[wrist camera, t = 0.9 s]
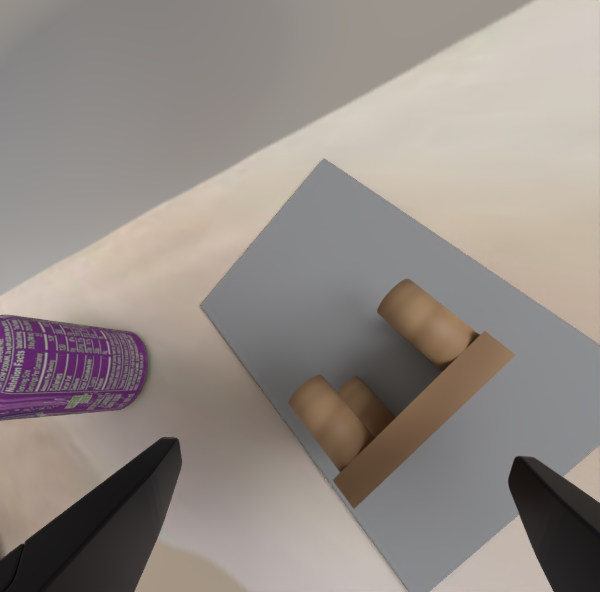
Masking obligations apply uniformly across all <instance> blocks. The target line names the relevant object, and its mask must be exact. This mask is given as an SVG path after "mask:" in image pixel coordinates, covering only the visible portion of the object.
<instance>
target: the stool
mask: <svg viewBox="0 0 600 592" xmlns="http://www.w3.org/2000/svg"><path fill="white" fill-rule="evenodd" d="M377 313H378V314H379V315H380V316H381V317H382V318H383V319H385V320H386V321H387V322H388V323H389V324H390V325H391V326H392V327H393V328H394V329H396V330H397V331H398V332H399V333H400V334H401V335H402V336H403V337H404V338H405V339H407V340H408V341H409V342H410V343H411V344H412V345H413V346H414V347H415V348H416V349H418V350H419V351H420V352H421V353H422V354H423V355H424V356H425V357H426V358H427V359H429V360H430V361H431V362H432V363H433V364H434V365H435V366H436V367H437V368H438V369H440V370H441V371H442V373H441V374H440V375H439V376H438V377H437V378H436V379H435V380H434V381H433V382H432V383H431V384H430V385H429V386H428V387H427V388H426V389H425V390H424V391H423V392H422V393H421V394H420V395H419V396H418V397H417V398H416V399H415V400H413V401H412V402H411V403H410V404H409V405H408V406H407V407H406V408H405V409H404V410H403V411H402V412H401V413H400V414H399V415H398V416H397V417H395V416H394V415H393V414H392V413H391V411H390V410H389V409H388V408H387V407H386V406H385V405H384V404H383V403H382V402H381V401H380V400H379V399H378V398H377V396H376V395H375V394H374V393H373V392H372V391H371V390H370V389H369V388H368V387H367V386H366V385H365V384H364V382H363V381H362V380H361V379H360V378H359V377H358V376H354V377H353V378H351V379H350V380H348V381H347V382H346V383H345V384H344V385H343V386H342V387H341V388H340V389H339V390H338V391H337V392H336V391H335V390H334V389H333V388H332V386H331V385H330V384H329V383H328V382H327V381H326V379H325V378H324V377H323V376H322V375H316V376H314V377H312V378H311V379H309V380H308V381H306V382H305V383H304V384H303V385H301V386H300V387H299V388H298V389H297V390H296V391H295V392H294V394H293V395H292V396H291V398H290V399H289V401H288V404H289V406H290V407H291V408H292V410H293V411H294V412H295V414H296V415H297V416H298V417H299V419H300V420H301V421H302V423H303V424H304V425H305V427H306V428H307V429H308V431H309V432H310V433H311V435H312V436H313V437H314V439H315V440H316V441H317V443H318V444H319V445H320V446H321V448H322V449H323V450H324V452H325V453H326V454H327V456H328V457H329V458H330V460H331V461H332V462H333V464H334V465H335V466H336V468H337V469H338V470H339V472H340V473H339V474H338V475H337V476H336V477H335V478H334V479H333V482H334V483H335V484H336V486H337V487H338V488H339V490H340V491H341V492H342V494H343V495H344V496H345V498H346V499H347V501H348V502H349V503H350V505H351V506H352V507H353V509H355V508H356V507H357V506H358V505H359V504H360V503H361V502H362V501H363V500H364V499H365V498H366V497H367V496H368V495H369V494H370V493H372V492H373V491H374V490H375V489H376V488H377V487H378V486H379V485H380V484H381V483H382V482H383V481H384V480H385V479H386V478H387V477H388V476H389V475H390V474H391V473H393V472H394V471H395V470H396V469H397V468H398V467H399V466H400V465H401V464H402V463H403V462H404V461H405V460H406V459H407V458H408V457H409V456H410V455H411V454H412V453H414V452H415V451H416V450H417V449H418V448H419V447H420V446H421V445H422V444H423V443H424V442H425V441H426V440H427V439H428V438H429V437H430V436H431V435H432V434H433V433H435V432H436V431H437V430H438V429H439V428H440V427H441V426H442V425H443V424H444V423H445V422H446V421H447V420H448V419H449V418H450V417H451V416H452V415H453V414H455V413H456V412H457V411H458V410H459V409H460V408H461V407H462V406H463V405H464V404H465V403H466V402H467V401H468V400H469V399H470V398H471V397H472V396H473V395H474V394H476V393H477V392H478V391H479V390H480V389H481V388H482V387H483V386H484V385H485V384H486V383H487V382H488V381H489V380H490V379H491V378H492V377H493V376H494V375H495V374H497V373H498V372H499V371H500V370H501V369H502V368H503V367H504V366H505V365H506V364H507V363H508V362H509V361H510V360H511V359H512V358H513V357H514V356H515V354H514V353H513V352H512V351H510V350H509V349H508V348H507V347H505V346H504V345H503V344H501V343H500V342H499V341H498V340H496V339H495V338H494V337H492V336H491V335H490V334H489V333H487V332H486V331H484V332H483V333H482V334H481V335H480V334H478V333H477V332H476V331H475V330H473V329H472V328H471V327H470V326H468V325H467V324H466V323H465V322H463V321H462V320H461V319H460V318H458V317H457V316H456V315H454V314H453V313H452V312H451V311H449V310H448V309H447V308H446V307H444V306H443V305H442V304H441V303H439V302H438V301H437V300H436V299H434V298H433V297H432V296H431V295H429V294H428V293H427V292H425V291H424V290H423V289H422V288H420V287H419V286H418V285H417V284H415V283H414V282H413V281H412V280H410V279H404V280H402V281H401V282H399V283H398V284H397V285H396V286H394V287H393V288H392V289H391V290H390V291H389V292H388V294H387V295H386V296H385V297H384V298H383V300H382V301H381V303H380V305H379V307H378V309H377Z"/></svg>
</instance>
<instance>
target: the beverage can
mask: <svg viewBox="0 0 600 592" xmlns="http://www.w3.org/2000/svg"><path fill="white" fill-rule="evenodd" d="M146 372H147V354H146V350H145V347H144V344H143V342H142V341H141V339H140V338H139V337H138V336H137V335H136V334H134V333H132V332H127V331H120V330H113V329H106V328H99V327H92V326H85V325H78V324H71V323H63V322H56V321H49V320H42V319H35V318H28V317H21V316H14V315H0V421H1V420H12V419H24V418H35V417H46V416H57V415H69V414H80V413H91V412H102V411H113V410H120V409H123V408H125V407H127V406H128V405H129V404H131V403H132V402H133V401H134V400H135V398H136V397H137V395H138V394H139V392H140V390H141V388H142V386H143V384H144V381H145V377H146Z"/></svg>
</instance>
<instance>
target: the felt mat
mask: <svg viewBox="0 0 600 592" xmlns="http://www.w3.org/2000/svg"><path fill="white" fill-rule="evenodd" d="M404 279H410V280H412V281H413V282H414V283H415V284H417V285H418V286H419V287H420V288H422V289H423V290H424V291H425V292H427V293H428V294H429V295H431V296H432V297H433V298H434V299H436V300H437V301H438V302H439V303H441V304H442V305H443V306H444V307H446V308H447V309H448V310H449V311H451V312H452V313H453V314H454V315H456V316H457V317H458V318H460V319H461V320H462V321H463V322H465V323H466V324H467V325H468V326H470V327H471V328H472V329H473V330H475V331H476V332H477V333H478V334H480V335H481V334H482V333H483V332H484V331H486V332H487V333H489V334H490V335H491V336H492V337H494V338H495V339H496V340H498V341H499V342H500V343H501V344H503V345H504V346H505V347H507V348H508V349H509V350H510V351H512V352H513V353H514V354H515V356H514V357H513V358H512V359H511V360H510V361H509V362H508V363H507V364H506V365H505V366H504V367H503V368H502V369H501V370H500V371H499V372H498V373H497V374H495V375H494V376H493V377H492V378H491V379H490V380H489V381H488V382H487V383H486V384H485V385H484V386H483V387H482V388H481V389H480V390H479V391H478V392H477V393H476V394H474V395H473V396H472V397H471V398H470V399H469V400H468V401H467V402H466V403H465V404H464V405H463V406H462V407H461V408H460V409H459V410H458V411H457V412H456V413H455V414H453V415H452V416H451V417H450V418H449V419H448V420H447V421H446V422H445V423H444V424H443V425H442V426H441V427H440V428H439V429H438V430H437V431H436V432H435V433H433V434H432V435H431V436H430V437H429V438H428V439H427V440H426V441H425V442H424V443H423V444H422V445H421V446H420V447H419V448H418V449H417V450H416V451H415V452H414V453H412V454H411V455H410V456H409V457H408V458H407V459H406V460H405V461H404V462H403V463H402V464H401V465H400V466H399V467H398V468H397V469H396V470H395V471H394V472H393V473H391V474H390V475H389V476H388V477H387V478H386V479H385V480H384V481H383V482H382V483H381V484H380V485H379V486H378V487H377V488H376V489H375V490H374V491H373V492H372V493H370V494H369V495H368V496H367V497H366V498H365V499H364V500H363V501H362V502H361V503H360V504H359V505H358V506H357V507H356V508H355V509H353V507H352V506H351V505H350V503H349V502H348V501H347V499H346V498H345V496H344V495H343V494H342V492H341V491H340V490H339V488H338V487H337V486H336V484H335V483H334V482H333V479H334V478H335V477H336V476H337V475H338V474H339V473H340V472H339V470H338V469H337V468H336V466H335V465H334V464H333V462H332V461H331V460H330V458H329V457H328V456H327V454H326V453H325V452H324V450H323V449H322V448H321V446H320V445H319V444H318V443H317V441H316V440H315V439H314V437H313V436H312V435H311V433H310V432H309V431H308V429H307V428H306V427H305V425H304V424H303V423H302V421H301V420H300V419H299V417H298V416H297V415H296V414H295V412H294V411H293V410H292V408H291V407H290V406H289V404H288V401H289V399H290V398H291V396H292V395H293V394H294V392H295V391H296V390H297V389H298V388H299V387H300V386H301V385H303V384H304V383H305V382H306V381H308V380H309V379H311V378H312V377H314V376H316V375H322V376H323V377H324V378H325V379H326V381H327V382H328V383H329V384H330V385H331V386H332V388H333V389H334V390H335V391H336V392H337V391H338V390H339V389H340V388H341V387H342V386H343V385H344V384H345V383H346V382H347V381H348V380H350V379H351V378H353V377H354V376H358V377H359V378H360V379H361V380H362V381H363V382H364V384H365V385H366V386H367V387H368V388H369V389H370V390H371V391H372V392H373V393H374V394H375V395H376V396H377V398H378V399H379V400H380V401H381V402H382V403H383V404H384V405H385V406H386V407H387V408H388V409H389V410H390V411H391V413H392V414H393V415H394V416H395V417H397V416H398V415H399V414H400V413H401V412H402V411H403V410H404V409H405V408H406V407H407V406H408V405H409V404H410V403H411V402H412V401H413V400H415V399H416V398H417V397H418V396H419V395H420V394H421V393H422V392H423V391H424V390H425V389H426V388H427V387H428V386H429V385H430V384H431V383H432V382H433V381H434V380H435V379H436V378H437V377H438V376H439V375H440V374H441V373H442V371H441V370H440V369H438V368H437V367H436V366H435V365H434V364H433V363H432V362H431V361H430V360H429V359H427V358H426V357H425V356H424V355H423V354H422V353H421V352H420V351H419V350H418V349H416V348H415V347H414V346H413V345H412V344H411V343H410V342H409V341H408V340H407V339H405V338H404V337H403V336H402V335H401V334H400V333H399V332H398V331H397V330H396V329H394V328H393V327H392V326H391V325H390V324H389V323H388V322H387V321H386V320H385V319H383V318H382V317H381V316H380V315H379V314H378V313H377V309H378V307H379V305H380V303H381V301H382V300H383V298H384V297H385V296H386V295H387V294H388V292H389V291H390V290H391V289H392V288H393V287H394V286H396V285H397V284H398V283H399V282H401V281H402V280H404ZM200 306H201V307H202V308H203V310H204V311H205V313H206V314H207V315H208V317H209V318H210V319H211V321H212V322H213V324H214V325H215V326H216V328H217V329H218V330H219V332H220V333H221V335H222V336H223V337H224V339H225V340H226V341H227V343H228V344H229V345H230V347H231V348H232V350H233V351H234V352H235V354H236V355H237V356H238V358H239V359H240V361H241V362H242V363H243V365H244V366H245V367H246V369H247V370H248V372H249V373H250V374H251V376H252V377H253V378H254V380H255V381H256V383H257V384H258V385H259V387H260V388H261V389H262V391H263V392H264V393H265V395H266V396H267V398H268V399H269V400H270V402H271V403H272V404H273V406H274V407H275V409H276V410H277V411H278V413H279V414H280V415H281V417H282V418H283V420H284V421H285V422H286V424H287V425H288V426H289V428H290V429H291V430H292V432H293V433H294V435H295V436H296V437H297V439H298V440H299V441H300V443H301V444H302V446H303V447H304V448H305V450H306V451H307V452H308V454H309V455H310V457H311V458H312V459H313V461H314V462H315V463H316V465H317V466H318V467H319V469H320V470H321V472H322V473H323V474H324V476H325V477H326V478H327V480H328V481H329V483H330V484H331V485H332V487H333V488H334V489H335V491H336V492H337V494H338V495H339V496H340V498H341V499H342V500H343V502H344V503H345V504H346V506H347V507H348V509H349V510H350V511H351V513H352V514H353V515H354V517H355V518H356V520H357V521H358V522H359V524H360V525H361V526H362V528H363V529H364V531H365V532H366V533H367V535H368V536H369V537H370V539H371V540H372V542H373V543H374V544H375V546H376V547H377V548H378V550H379V551H380V552H381V554H382V555H383V557H384V558H385V559H386V561H387V562H388V563H389V565H390V566H391V568H392V569H393V570H394V572H395V573H396V574H397V576H398V577H399V579H400V580H401V581H402V583H403V584H404V585H405V587H406V588H407V589H408V591H409V592H430V591H431V590H432V589H433V588H434V587H435V586H436V585H438V584H439V583H440V582H441V581H442V580H443V579H445V578H446V577H447V576H448V575H449V574H450V573H452V572H453V571H454V570H455V569H456V568H457V567H459V566H460V565H461V564H462V563H463V562H464V561H465V560H467V559H468V558H469V557H470V556H471V555H472V554H474V553H475V552H476V551H477V550H478V549H479V548H481V547H482V546H483V545H484V544H485V543H486V542H488V541H489V540H490V539H491V538H492V537H493V536H495V535H496V534H497V533H498V532H499V531H500V530H501V529H503V528H504V527H505V526H506V525H507V524H508V523H510V522H511V521H512V520H513V519H514V518H515V517H517V516H518V515H519V512H518V510H517V507H516V505H515V502H514V500H513V497H512V495H511V492H510V489H509V486H508V477H509V474H510V471H511V467H512V464H513V461H514V458H515V457H517V456H531V457H534V458H536V459H538V460H539V461H541V462H542V463H543V464H545V465H546V466H548V467H549V468H551V469H552V470H553V471H555V472H556V473H558V474H559V475H561V476H562V477H563V476H564V475H565V474H566V473H568V472H569V471H570V470H571V469H572V468H573V467H575V466H576V465H577V464H578V463H579V462H580V461H582V460H583V459H584V458H585V457H586V456H587V455H589V454H590V453H591V452H592V451H593V450H594V449H595V448H597V447H598V446H599V445H600V345H599V344H598V343H596V342H595V341H593V340H592V339H591V338H589V337H588V336H586V335H585V334H583V333H582V332H580V331H579V330H577V329H576V328H574V327H573V326H571V325H570V324H568V323H567V322H565V321H564V320H562V319H561V318H559V317H558V316H557V315H555V314H554V313H552V312H551V311H549V310H548V309H546V308H545V307H543V306H542V305H540V304H539V303H537V302H536V301H534V300H533V299H531V298H530V297H528V296H527V295H525V294H524V293H523V292H521V291H520V290H518V289H517V288H515V287H514V286H512V285H511V284H509V283H508V282H506V281H505V280H503V279H502V278H500V277H499V276H497V275H496V274H494V273H493V272H491V271H490V270H488V269H487V268H486V267H484V266H483V265H481V264H480V263H478V262H477V261H475V260H474V259H472V258H471V257H469V256H468V255H466V254H465V253H463V252H462V251H460V250H459V249H457V248H456V247H454V246H453V245H452V244H450V243H449V242H447V241H446V240H444V239H443V238H441V237H440V236H438V235H437V234H435V233H434V232H432V231H431V230H429V229H428V228H426V227H425V226H423V225H422V224H420V223H419V222H418V221H416V220H415V219H413V218H412V217H410V216H409V215H407V214H406V213H404V212H403V211H401V210H400V209H398V208H397V207H395V206H394V205H392V204H391V203H389V202H388V201H386V200H385V199H384V198H382V197H381V196H379V195H378V194H376V193H375V192H373V191H372V190H370V189H369V188H367V187H366V186H364V185H363V184H361V183H360V182H358V181H357V180H355V179H354V178H352V177H351V176H350V175H348V174H347V173H345V172H344V171H342V170H341V169H339V168H338V167H336V166H335V165H333V164H332V163H330V162H329V161H327V160H326V159H323V160H322V161H321V162H320V163H319V164H318V166H317V167H316V168H315V169H314V170H313V172H312V173H311V174H310V175H309V176H308V178H307V179H306V180H305V181H304V182H303V184H302V185H301V186H300V187H299V188H298V189H297V191H296V192H295V193H294V194H293V195H292V197H291V198H290V199H289V200H288V201H287V203H286V204H285V205H284V206H283V207H282V209H281V210H280V211H279V212H278V213H277V214H276V216H275V217H274V218H273V219H272V220H271V222H270V223H269V224H268V225H267V226H266V228H265V229H264V230H263V231H262V232H261V233H260V235H259V236H258V237H257V238H256V239H255V241H254V242H253V243H252V244H251V245H250V247H249V248H248V249H247V250H246V251H245V253H244V254H243V255H242V256H241V257H240V258H239V260H238V261H237V262H236V263H235V264H234V266H233V267H232V268H231V269H230V270H229V272H228V273H227V274H226V275H225V276H224V278H223V279H222V280H221V281H220V282H219V283H218V285H217V286H216V287H215V288H214V289H213V291H212V292H211V293H210V294H209V295H208V297H207V298H206V299H205V300H204V301H203V303H202V304H201V305H200Z"/></svg>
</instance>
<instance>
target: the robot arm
mask: <svg viewBox="0 0 600 592" xmlns="http://www.w3.org/2000/svg"><path fill="white" fill-rule="evenodd" d="M181 466H182V458H181V451H180V444H179V440H178V439H177V438H175V437H163V438H161V439H159V440H158V441H157V442H155V443H154V444H153V445H151V446H150V447H149V448H147V449H146V450H145V451H143V452H142V453H141V454H139V455H138V456H137V457H136V458H134V459H133V460H132V461H130V462H129V463H128V464H126V465H125V466H124V467H122V468H121V469H120V470H118V471H117V472H116V473H114V474H113V475H112V476H110V477H109V478H108V479H106V480H105V481H104V482H103V483H101V484H100V485H99V486H97V487H96V488H95V489H93V490H92V491H91V492H89V493H88V494H87V495H85V496H84V497H83V498H81V499H80V500H79V501H77V502H76V503H75V504H73V505H72V506H71V507H70V508H68V509H67V510H66V511H64V512H63V513H62V514H60V515H59V516H58V517H56V518H55V519H54V520H52V521H51V522H50V523H48V524H47V525H46V526H44V527H43V528H42V529H41V530H39V531H38V532H37V533H35V534H34V535H33V536H31V537H30V538H29V539H27V540H26V541H25V544H21V545H19V546H18V547H17V548H15V549H14V550H13V551H11V552H10V553H9V554H7V555H6V556H5V557H3V558H2V559H1V560H0V592H134V591H135V589H136V587H137V584H138V582H139V579H140V577H141V575H142V573H143V570H144V568H145V566H146V563H147V561H148V559H149V557H150V554H151V552H152V550H153V547H154V545H155V543H156V540H157V538H158V536H159V533H160V531H161V528H162V525H163V522H164V519H165V516H166V513H167V510H168V507H169V504H170V501H171V498H172V495H173V492H174V489H175V486H176V483H177V479H178V476H179V473H180V470H181ZM508 486H509V489H510V492H511V495H512V497H513V500H514V502H515V505H516V507H517V510H518V512H519V515H520V517H521V520H522V522H523V525H524V528H525V530H526V533H527V535H528V538H529V540H530V543H531V545H532V548H533V550H534V552H535V555H536V557H537V559H538V561H539V563H540V565H541V567H542V569H543V571H544V573H545V575H546V577H547V579H548V581H549V583H550V585H551V587H552V589H553V591H554V592H600V503H599V502H598V501H596V500H595V499H593V498H592V497H591V496H589V495H588V494H586V493H585V492H583V491H582V490H581V489H579V488H578V487H576V486H575V485H573V484H572V483H571V482H569V481H568V480H566V479H565V478H563V477H562V476H561V475H559V474H558V473H556V472H555V471H553V470H552V469H551V468H549V467H548V466H546V465H545V464H543V463H542V462H541V461H539V460H538V459H536V458H534V457H531V456H517V457H515V458H514V461H513V464H512V467H511V471H510V474H509V477H508Z"/></svg>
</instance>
